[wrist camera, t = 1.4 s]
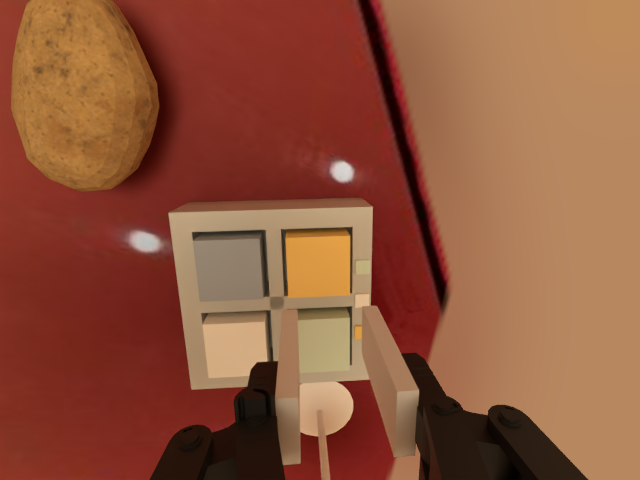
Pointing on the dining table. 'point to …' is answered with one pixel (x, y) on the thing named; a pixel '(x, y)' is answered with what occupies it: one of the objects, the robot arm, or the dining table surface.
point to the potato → (82, 93)
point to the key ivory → (235, 342)
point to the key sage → (324, 339)
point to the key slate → (230, 266)
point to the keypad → (271, 272)
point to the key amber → (318, 262)
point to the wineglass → (324, 414)
